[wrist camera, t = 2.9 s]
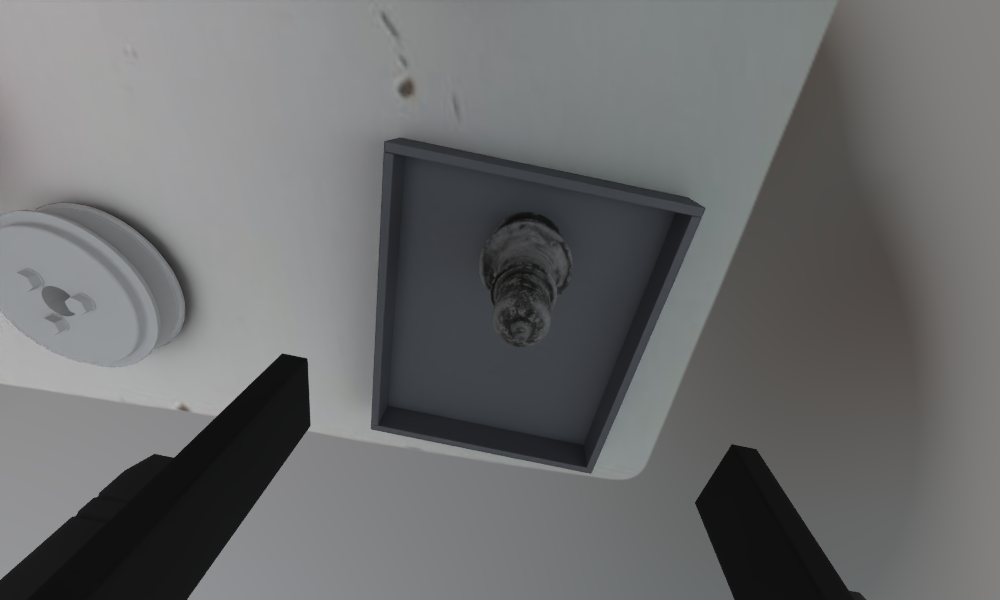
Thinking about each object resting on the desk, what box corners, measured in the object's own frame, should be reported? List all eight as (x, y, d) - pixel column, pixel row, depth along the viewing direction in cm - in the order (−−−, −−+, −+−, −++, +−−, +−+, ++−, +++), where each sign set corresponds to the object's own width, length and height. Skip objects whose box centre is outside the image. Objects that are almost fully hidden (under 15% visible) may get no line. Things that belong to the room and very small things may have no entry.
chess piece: (583, 226, 26) (615, 307, 16) (548, 298, 29) (555, 410, 18) (501, 194, 26) (477, 256, 15) (474, 270, 28) (436, 369, 18)
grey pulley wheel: (225, 306, 32) (175, 338, 28) (135, 363, 36) (78, 400, 31) (93, 167, 28) (8, 178, 23) (6, 248, 31) (-82, 272, 27)
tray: (399, 137, 25) (383, 140, 23) (688, 197, 25) (706, 207, 23) (382, 406, 36) (370, 429, 33) (587, 447, 36) (591, 474, 33)
